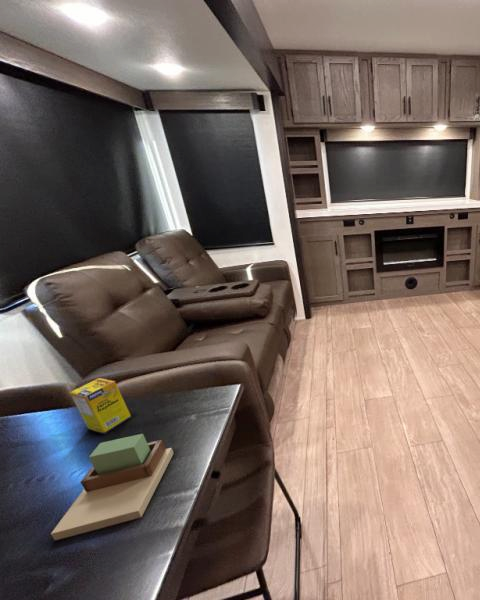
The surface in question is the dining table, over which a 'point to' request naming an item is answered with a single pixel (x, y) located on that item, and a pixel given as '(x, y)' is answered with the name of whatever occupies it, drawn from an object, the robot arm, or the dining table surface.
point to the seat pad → (115, 495)
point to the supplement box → (101, 405)
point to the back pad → (120, 454)
